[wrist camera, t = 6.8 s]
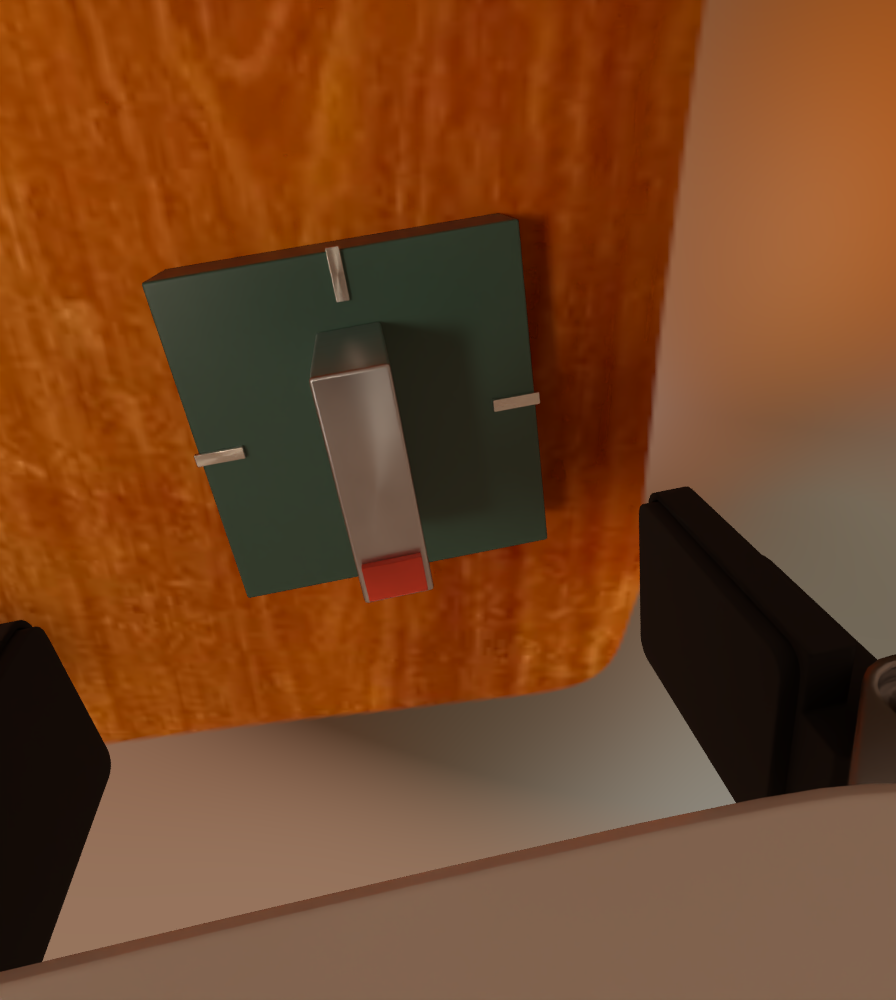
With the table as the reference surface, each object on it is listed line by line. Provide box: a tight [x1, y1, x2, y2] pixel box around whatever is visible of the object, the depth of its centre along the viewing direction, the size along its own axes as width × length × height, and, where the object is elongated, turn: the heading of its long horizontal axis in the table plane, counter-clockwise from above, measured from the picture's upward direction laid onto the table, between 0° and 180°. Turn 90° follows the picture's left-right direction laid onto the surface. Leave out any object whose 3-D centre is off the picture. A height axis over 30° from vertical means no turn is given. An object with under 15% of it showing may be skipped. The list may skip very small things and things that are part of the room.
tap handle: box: [309, 322, 434, 603], centre depth 18 cm, size 6×2×5 cm, turn 9°
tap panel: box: [142, 213, 547, 598], centre depth 21 cm, size 10×10×3 cm
